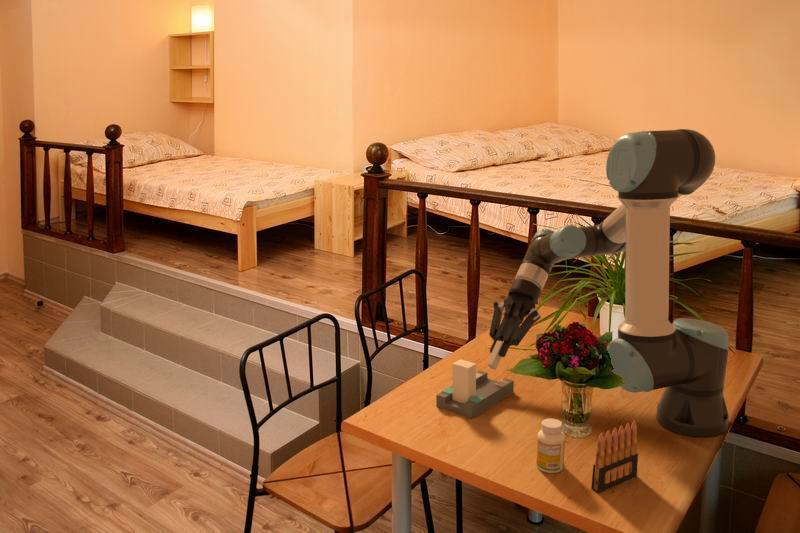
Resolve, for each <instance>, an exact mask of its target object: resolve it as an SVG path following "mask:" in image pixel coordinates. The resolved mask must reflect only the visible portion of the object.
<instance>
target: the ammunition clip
mask: <svg viewBox="0 0 800 533" xmlns="http://www.w3.org/2000/svg"><path fill="white" fill-rule="evenodd" d="M637 433H638V428H637V422H636V420H633V421H632V423H631V426H630V423H629V422H627V423H626V425H625V428H624V426H623V424H621V425H620V426H619V429H617V427H616V426H615V427H614V428H613V429H612V433H611V432H610V429H607V431H606V433H605V436H604V433H603V432H600V434H599V436H598V441H597V446H596V448H597V449H596V453H595V463H593V464H592V465H593V467H592V476H591V485H590V487H591V490H593V491H594V492H596V493H598V494H600V493H603V492H604V491H605V492H606V491H607V490H609V489H611V488H614V487H617V486H618V485H621V484H623V483H625V481H626V482H628V481H631V480H632V478H633V479H635V478H637V477H638V465H639V463H638V462H639V459H638V458H639V453H637V451H638V450H637V448H638V434H637Z"/></svg>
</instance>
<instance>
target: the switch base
mask: <svg viewBox="0 0 800 533" xmlns="http://www.w3.org/2000/svg"><path fill="white" fill-rule="evenodd" d="M514 381H515V380H513V379H510V378H507V377H505V378H503V379H501V380H498V381H497V380H495V379H492V378H489V377H488V372H487V371H484V370H483V371H482V370H477V371H476V395H475V396H474V397H472V398H470V399H469V400H468V401H467V402H465V403H460V402H457V401H454V400H452V385H451V386H449V387H446V388H445V389H443V390H441V392H439V393H437V394H436V398H435V399H436V407H438V408H439V409H442V410H446V411H449V412H452V413H454V414H458V415H461V416H463V417H466V418H468V419H473V418H476V417H477V416H478V415H479V414H482V413H483V412H484V411H486V410H487V409H489V408H491V407H492V406H493V405H495V404H497V403H498V402H500V401H501V400H503V399H504V398H506V397H508V396H510V395H511V394H513V393H514V388H515V387H514V384H515V382H514Z"/></svg>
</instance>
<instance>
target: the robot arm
mask: <svg viewBox="0 0 800 533" xmlns="http://www.w3.org/2000/svg"><path fill="white" fill-rule="evenodd" d="M715 152H716V151H715V149H714V146H713V144H712V143H711V141H710V140H709V138H708V137H706V135H704V134H702V133H700V132H699V131H696V130H693V129H688V128H678V129H668V130H667V129H665V130H642V131H635V132H630V133H625V134H624V135H621V136H620V137H619V138H617V139H616V141H615V142H614V144H613V145H611V148H610V150H609V151H608V154H607V157H606V158H607V159H606V163H605V174H606V179H607V180H608V181H609V183H608V184H609V186H610V187H611V188H612V189H613V190H615V191H616V192H617V197H618V200H619V202H621V204H620V205H619V206H618V207H617V208H615V209H614V211H612V212H611V213H610V214H609V215H608V216H607V217H606V218H605V219H604V220H603V221H601V222H600V223H599V224H595V225H589V226H588V225H587V226H579V227H578V226H577V225H572V224H568V225H565V226H561V227H558V228H556V229H555V230H552V229H549V228H545V229H544V228H541V229H539V230H537V231H536V232H535V234H534V236H533V237H532V239H531V240H530V244H529V246H528V249H527V250H526V253H525V256H524V258H523V259H522V262H521V264H520V266H519V268H518V271H517V272H516V275H515V277H514V280H513V282H512V283H511V286H510V287H509V291H508V294H507V295H506V297H505V298H504V300H503V301H501V302H498V301H495V302H493V314H492V317H491V325H490V329H489V334H488V335H489V337H490V338H491V339H492V340H493V342H492V344H491V346H490V349H489V353H490V355H489V357H488V360H487V362H486V365H488V367H489V369H491V370H494V371H496V370H497V369H498V366H499V364H500V363H501V359H502V358H505V357H506V355H507V353H508V350H509V348H510V347H511V346H515V347H518V346H519V344H520V343H522V342H521V341H523V339H524V338H525V337H526V335H527V333H528V332H529V331H530V329H531V328H532V327H533V325H534V324H535V323H536V322H537V321H539V320H540V319H541V317H542V316H541V314H540V313H539V312H538V310H536V304H537V302H538V300H540V299H539V298H540V296H541V294H542V290H543V289H544V286H545V284H546V282H547V280H548V278H549V275H550V273H551V271H552V269H553V267H554V266H555V264H558V263H560V262H562V261H565V260H570V259H579V258H586V257H595V256H603V255H616V254H618V253H623V252H625V315H624V316H625V319H624V320H623V321H622V322H621V323H619V324H618V326H617V338H615V339H613V340H612V341H610V342H609V343H608V345H607V346H606V350H607V351H608V353H609V355H610V358H611V364H612V366H613V368H614V369H613V370H612V372H613V373H614V374H616V375H618V376H620V377H621V378H622V379H623V380H624V381H625V382H626V383H625V384H623V385H620V386H619V387H620V388H622V389H623V390H625V391H626V392H628V393H631V394H633V393H649V392H652V391H655V390H659V389H663V388H665V389H664V391H663V393H662V396H661V398H660V400H659V402H658V403H657V405H656V406H657V407H656V414H655V418H656V420H657V422H658V423H659V424H660V425H661V426H663V427H664V428H666V429H667V430H670V431H672V432H675V433H677V434H680V435H685V436H688V437H689V436H691V437H696V438H698V437H700V438H705V437H706V438H707V437H708V438H709V437H717V436H719V435H722V434H724V433H725V432H727V430H728V428H729V423H730V422H729V420H730V417H729V416H730V415H729V411H728V408H727V403H726V400H725V395H724V388H725V379H726V372H727V365H728V364H727V363H728V353H729V350H730V347H729V338H730V337H729V333H728V331H727V330H726V329H725V327H722V326H720V325H718V324H716V323H713V322H710V321H707V320H702V319H697V318H690V317H687V318H686V317H682V318H680V317H679V318H675V319H674V320H673V322H672V323H671V321H670V320H669V300H670V298H669V296H670V295H669V293H670V292H669V290H670V286H669V285H670V229H671V228H670V221H671V220H670V218H671V216H670V214H671V206H672V204H674V203H675V201H677V200H678V199H679V198H680V197H682V196H689V195H691V194H693V193H694V192H696V190H698V189H699V188H700V187H702V186H703V184H705V183H706V182H707V181H708V180H709V178H710V176H711V175H712V174H713V173H714V169H715V166H716V153H715ZM504 309H505V311H504ZM503 312H504V314H503ZM502 317H503V318H502Z"/></svg>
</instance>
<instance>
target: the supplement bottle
mask: <svg viewBox="0 0 800 533" xmlns="http://www.w3.org/2000/svg"><path fill="white" fill-rule="evenodd" d="M565 446H566V435H565V433H564V432H563V422H562V421H561V420H560V419H555V418H546V419H543V420H542V421H541V429H540V430H539V431H538V433H537V442H536V467H537V468H538V470H540V472H541V471H542V472H544V473H548V474H556V473H557V474H558V473H560V472H562V471H563V469H564V466H565V448H566V447H565Z"/></svg>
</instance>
